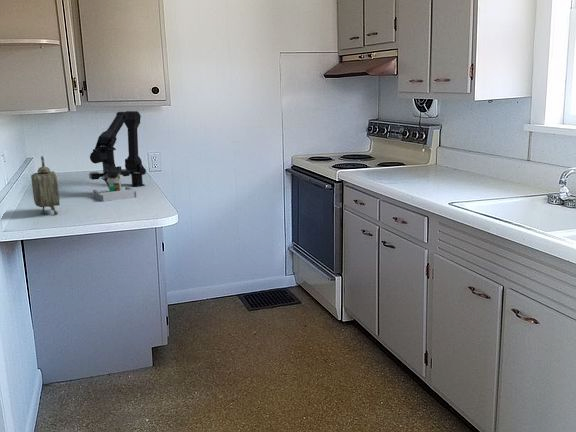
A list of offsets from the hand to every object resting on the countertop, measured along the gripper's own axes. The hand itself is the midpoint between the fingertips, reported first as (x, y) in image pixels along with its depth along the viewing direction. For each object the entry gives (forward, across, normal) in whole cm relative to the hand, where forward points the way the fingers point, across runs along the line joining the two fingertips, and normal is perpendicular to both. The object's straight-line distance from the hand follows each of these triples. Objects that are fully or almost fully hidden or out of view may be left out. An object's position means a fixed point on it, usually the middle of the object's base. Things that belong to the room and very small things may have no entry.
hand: (111, 191), depth 289 cm
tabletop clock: (+2, -34, -25) cm, 42 cm away
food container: (+2, 0, -8) cm, 8 cm away
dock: (+2, 0, -7) cm, 7 cm away
